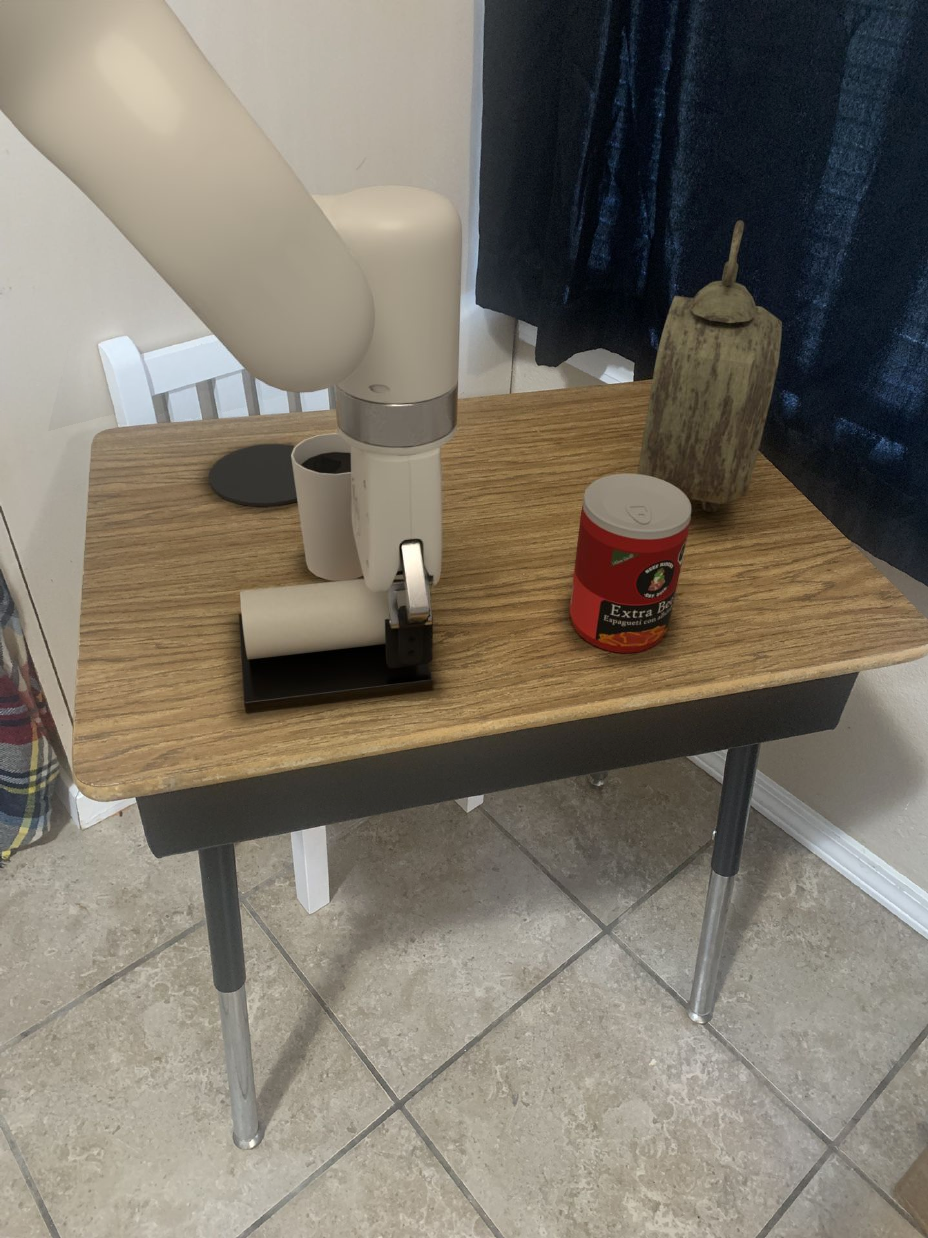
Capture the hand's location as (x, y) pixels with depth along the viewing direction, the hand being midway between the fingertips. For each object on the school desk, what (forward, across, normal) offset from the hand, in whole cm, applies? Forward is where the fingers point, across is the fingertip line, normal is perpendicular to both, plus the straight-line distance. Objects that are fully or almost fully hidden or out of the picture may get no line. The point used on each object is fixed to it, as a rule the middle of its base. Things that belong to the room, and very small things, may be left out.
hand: (400, 628), depth 71 cm
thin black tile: (+2, 0, -5) cm, 5 cm away
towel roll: (+1, 0, -5) cm, 5 cm away
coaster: (+2, -27, -8) cm, 28 cm away
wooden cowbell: (+2, -15, +29) cm, 33 cm away
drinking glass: (+2, -12, -3) cm, 13 cm away
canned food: (+2, 0, +17) cm, 17 cm away
